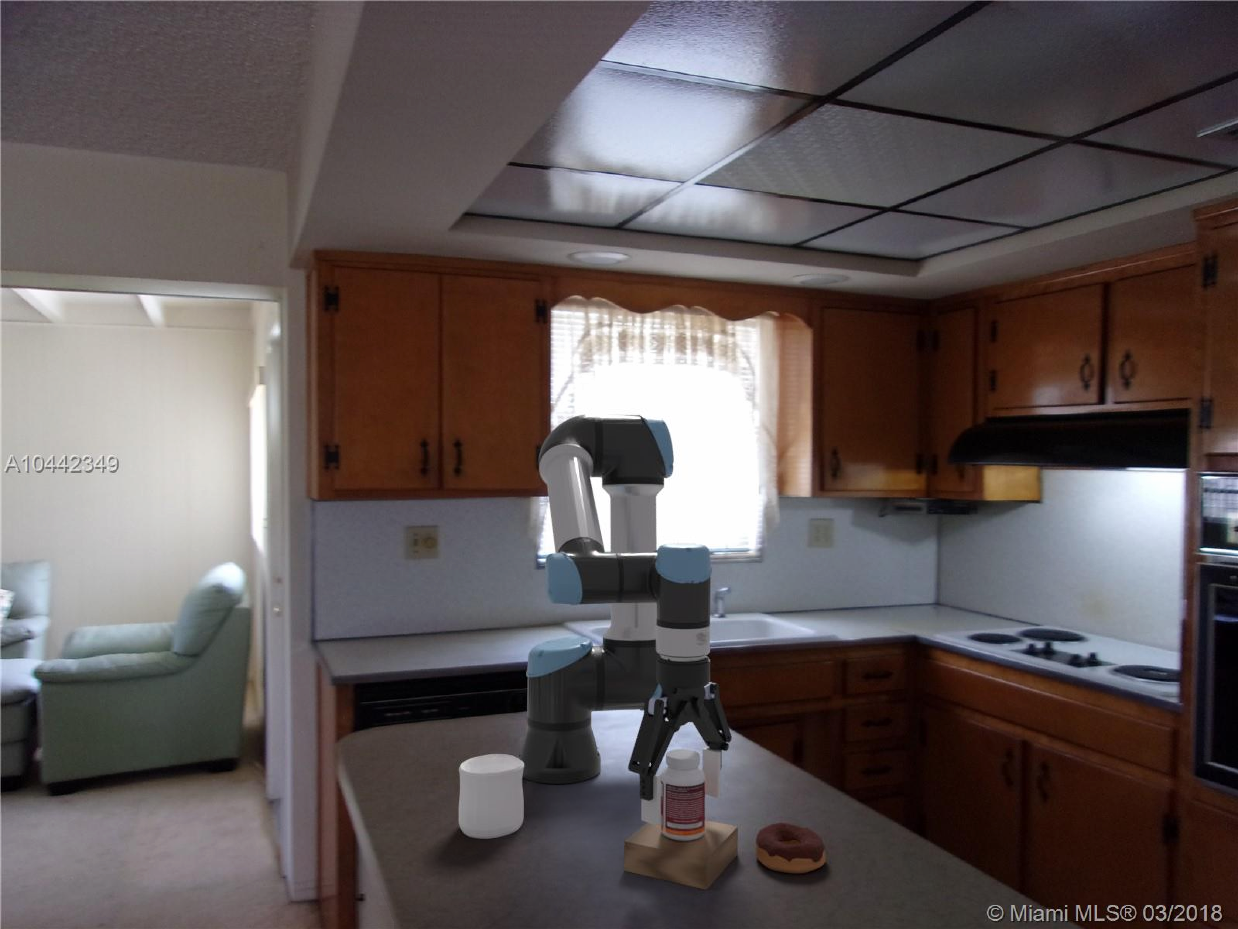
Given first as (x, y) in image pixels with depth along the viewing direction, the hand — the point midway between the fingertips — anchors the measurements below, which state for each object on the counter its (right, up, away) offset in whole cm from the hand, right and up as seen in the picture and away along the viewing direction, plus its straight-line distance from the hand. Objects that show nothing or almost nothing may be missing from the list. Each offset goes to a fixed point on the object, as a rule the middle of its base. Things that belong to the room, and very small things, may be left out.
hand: (682, 808), depth 126 cm
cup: (-28, -8, +12) cm, 32 cm away
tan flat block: (0, -8, 0) cm, 8 cm away
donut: (+15, -8, +1) cm, 17 cm away
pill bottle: (0, -4, 0) cm, 4 cm away
